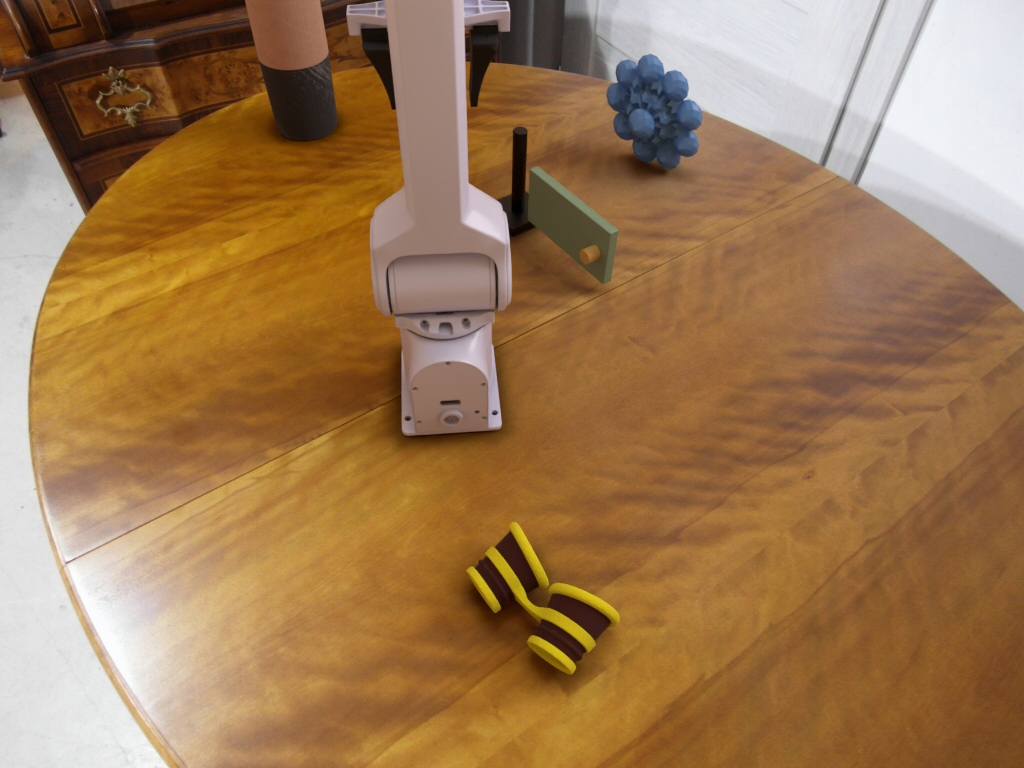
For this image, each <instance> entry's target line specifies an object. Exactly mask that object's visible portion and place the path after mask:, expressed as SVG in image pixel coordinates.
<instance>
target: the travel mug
mask: <svg viewBox="0 0 1024 768" xmlns="http://www.w3.org/2000/svg"><path fill="white" fill-rule="evenodd" d="M244 2H245V7H246V12H247V16H248V20H249V24H250V30H251V33H252V38H253V42H254V47H255V51H256V55H257V58H258V59H257V60H258V63H259V67H260V71H261V74H262V78H263V83H264V85H265V86H264V87H265V89H266V93H267V96H268V101H269V104H270V108H271V111H272V116H273V119H274V123H275V126H276V129H277V131H278V132H279V134H280V135H281V136H283V137H284V138H286V139H289V140H293V141H300V142H305V141H306V142H307V141H314V140H319V139H322V138H325V137H327V136H329V135H331V133H333V132H334V131H335V130H336V128H338V127H337V126H338V112H337V104H336V96H335V89H334V82H333V81H334V80H333V73H332V66H331V65H332V64H331V59H330V52H329V45H328V39H327V34H326V33H327V32H326V28H325V22H324V17H323V11H322V5H321V0H244Z"/></svg>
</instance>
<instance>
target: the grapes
mask: <svg viewBox="0 0 1024 768" xmlns="http://www.w3.org/2000/svg"><path fill="white" fill-rule="evenodd" d="M637 61H638V62H637V63H636V62H635V60H631V59H624V60H620V61H619V63H618V64H617V65H616V67H615V72H614V73H615V77H616V82H614V83H611V84H610V85H609V86H608V87H607V88H606V94H605V95H606V101H607V103H608V105H609V107H610V108H611V109H612V110H613V111H614V112H617V113H616V114H615V116H614V117H613V122H612V124H613V129H614V133H615V134H616V135H617V136H618V137H619V139H621V140H624V141H632V145H631V147H632V152H633V154H634V156H635V158H636V159H637V160H638V161H639V162H642V163H651V162H653V161H654V160H655V159H656V161H657V163H658V164H659V166H661V167H662V168H664V169H666V170H673V169H677V167H678V166H679V165H680V163H681V159H682V157H684V158H691V157H694V156H695V155H696V154H697V153H698V151H699V146H700V142H699V137H698V135H697V134H696V133H695V131H696V130H698V129H699V128H700V126H702V123H703V111H702V108H701V107H700V105H698V103H696V101H694V100H691V99H686V98H687V97H688V95H689V91H690V86H689V82H688V79H687V77H686V76H685V75H684V74H683V73H682V72H681V71H679V70H677V69H673V70H669V71H666V72H665V67H664V63H663V62H662V61H661V60H660V59H659V57H658V56H657V55H654V54H651V53H648V54H645V55H642V56H641V57H640V58H639V59H638V60H637Z"/></svg>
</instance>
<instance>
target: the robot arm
mask: <svg viewBox="0 0 1024 768" xmlns="http://www.w3.org/2000/svg"><path fill="white" fill-rule="evenodd" d="M346 22H347V29H348V35H349V37H357V36H361V47H362V50H363V52H364V54H365V57H366V58H367V59H368V60H369V62H370V63H371V65H372V66H373V68H374V69H375V71H376V73H377V75H378V77H379V79H380V81H381V83H382V84H383V87H384V89H385V92H386V94H387V97H388V100H389V104H390V109H391V110H393V111H395V114H396V120H397V121H396V122H397V131H398V132H397V133H398V141H399V150H400V160H401V169H402V177H403V186H402V187H401V188H400V189H399V190H397V191H395V193H393V194H392V195H390V196H389V197H387V198H385V200H383V201H382V202H380V204H378V205H377V206H376V207H375V208H374V210H373V216H372V217H371V218H370V223H369V252H370V271H371V283H372V292H373V299H374V304H375V308H376V309H377V310H378V311H379V312H380V313H382V316H384V317H386V318H387V317H394V318H393V319H394V324H395V328H396V329H399V335H400V343H401V356H400V357H401V432H402V434H403V435H404V436H405V437H407V436H408V437H410V436H411V437H412V436H425V435H440V434H441V435H442V434H457V433H471V432H485V431H486V432H489V431H498V430H500V429H501V428H502V427H503V421H502V412H501V402H500V394H499V385H498V384H499V383H498V376H497V367H496V358H495V348H494V344H493V324H495V322H496V315H495V314H496V311H497V312H503V311H505V310H506V308H507V307H508V306H509V305H510V303H511V302H512V293H513V274H512V273H513V272H512V271H513V270H512V269H513V268H512V254H511V240H510V235H509V229H508V221H507V216H506V213H505V212H504V211H503V208H502V205H501V203H500V202H498V201H497V200H498V199H496V198H494V197H492V196H491V195H489V194H487V193H486V192H484V191H482V190H481V189H479V188H477V187H476V186H474V185H473V184H471V183H470V182H469V149H468V148H469V145H468V144H469V143H468V111H467V110H468V109H467V108H468V107H467V74H466V73H467V71H466V69H467V68H466V38H465V37H466V35H465V34H466V33H465V32H466V30H468V36H469V37H468V38H469V39H468V40H469V79H468V95H469V96H468V97H469V104H470V108H477V107H479V98H480V93H481V88H482V85H483V81H484V79H485V76H486V73H487V71H488V68H489V66H490V64H491V62H492V60H493V58H494V57H495V55H496V53H497V50H498V47H499V45H500V41H499V39H500V38H499V32H500V33H508V32H510V31H511V9H510V3H509V1H507V0H379V1H372V2H366V3H360V4H348V5H347V6H346Z"/></svg>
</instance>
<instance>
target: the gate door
mask: <svg viewBox="0 0 1024 768" xmlns="http://www.w3.org/2000/svg"><path fill="white" fill-rule="evenodd" d="M528 179H529V180H528V194H529V199H528V220H529V221H530V222H531V223H532V224H533V225H534V226H535V227H534V228H537V230H539V231H540V232H541V233H542V234H543V235H545V236H546V237H547V238H548V239H549V240H550V241H552V242H553V243H554V244H555V245H556V246H558V248H560V249H561V250H562V251H563V252H564V253H565V254H567V256H569V257H570V258H571V259H572V260H574V261H575V262H576V263H577V264H578V265H579V266H581V267H582V268H583V269H584V270H585V271H586V272H587V273H589V274H590V275H591V276H592V277H593V278H594V279H596V280H597V281H598V282H599V283H600V284H602V285H603V286H604V285H606V284H609V283H610V282H611V281H612V276H613V269H614V263H615V257H616V249H617V243H618V237H619V236H618V235H619V229H618V228H617V227H615V226H614V225H613V224H612V223H610V222H609V221H608V220H606V219H605V218H604V217H603V216H601V215H600V214H599V213H598V212H596V210H594V209H592V207H590V206H589V205H588V204H586V203H585V202H584V201H582V199H580V198H579V197H577V196H576V195H575V194H574V193H572V192H571V191H570V190H569V189H568V188H566V187H565V186H564V185H562V184H561V183H560V182H559V181H557V180H556V179H555V178H554V177H552V176H551V175H549V174H548V173H547V172H546V171H544V170H543V169H542V168H541V167H540V166H533V167H532V168H529V177H528Z"/></svg>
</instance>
